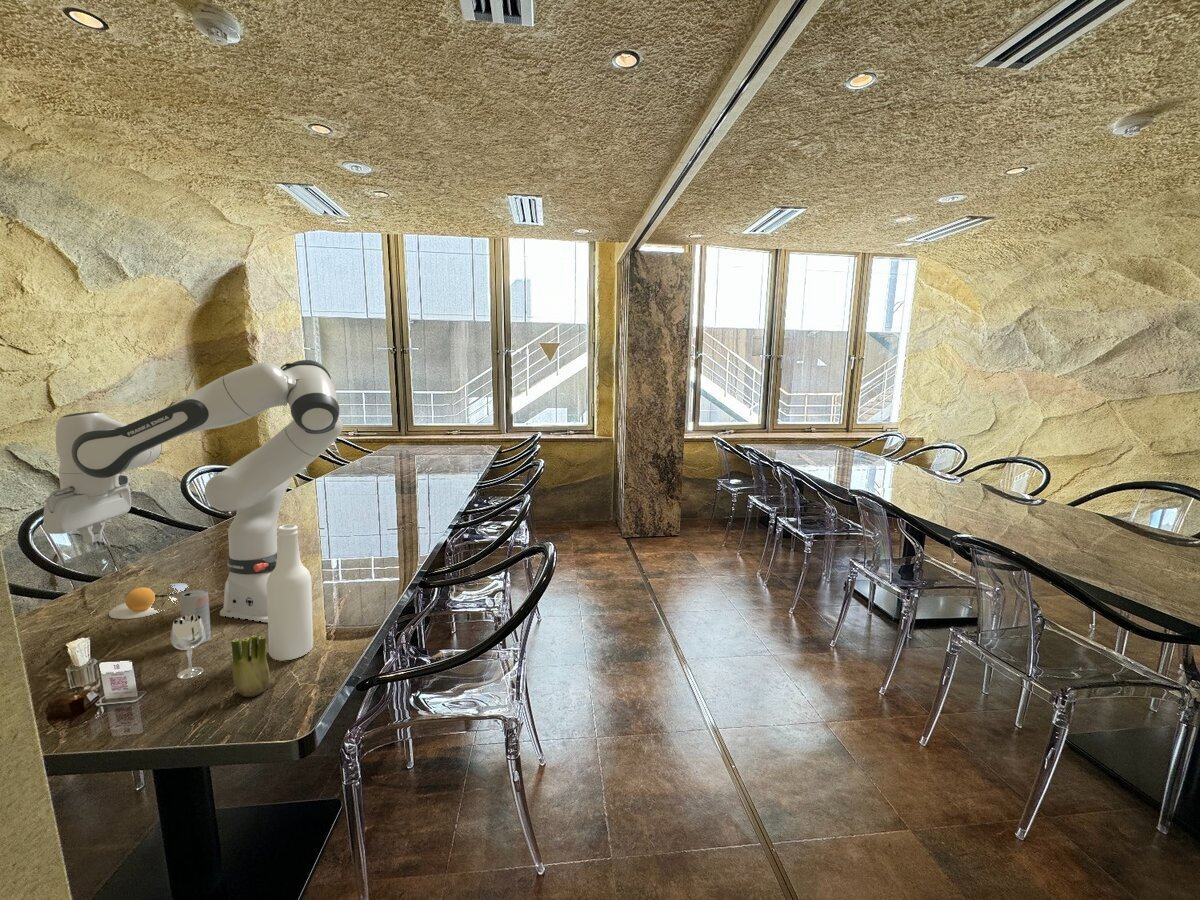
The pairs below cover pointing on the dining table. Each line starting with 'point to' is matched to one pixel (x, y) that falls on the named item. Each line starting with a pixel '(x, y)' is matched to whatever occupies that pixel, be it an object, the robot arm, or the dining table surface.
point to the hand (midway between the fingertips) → (93, 541)
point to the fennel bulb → (250, 666)
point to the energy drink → (197, 607)
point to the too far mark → (179, 587)
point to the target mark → (132, 611)
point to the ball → (140, 599)
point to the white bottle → (289, 600)
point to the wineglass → (188, 640)
